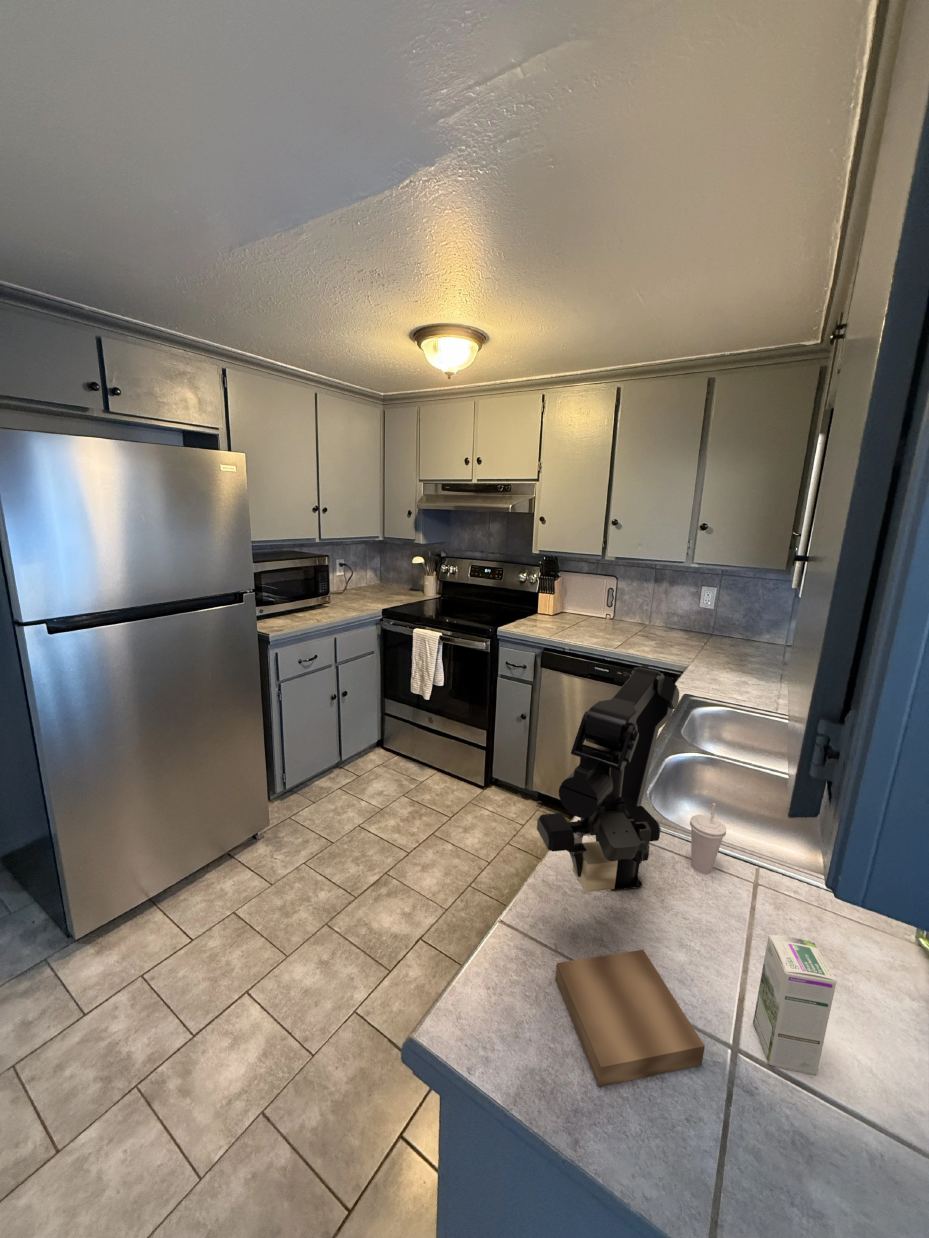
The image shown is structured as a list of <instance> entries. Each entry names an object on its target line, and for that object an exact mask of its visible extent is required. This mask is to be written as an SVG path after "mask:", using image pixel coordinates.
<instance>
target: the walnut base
mask: <svg viewBox="0 0 929 1238" xmlns="http://www.w3.org/2000/svg"><path fill="white" fill-rule="evenodd" d="M554 980H555V983H556V985H557V988H558V991H559V993H560V995H561V998H562V1000H563V1003H564V1005H565V1007H566V1010H567V1012H568V1015H569V1017H570V1020H571V1022H572V1024H573V1027H574V1029H575V1032H576V1034H577V1037H578V1039H579V1042H580V1044H581V1047H582V1049H583V1051H584V1054H585V1056H586V1058H587V1062H588V1064H589V1067H590V1069H591V1071H592V1074H593V1077H594V1079H595V1081H596V1084H597V1087H599V1088H600V1087H604V1086H605V1087H606V1086H609V1085H610V1086H611V1085H615V1084H619V1083H623V1082H629V1081H633V1080H637V1079H642V1078H646V1077H647V1078H648V1077H652V1076H657V1075H661V1074H667V1073H670V1072H671V1073H672V1072H676V1071H680V1070H681V1071H682V1070H685V1069H689V1068H694V1067H699V1066H702V1064H703V1058H704V1054H705V1047H706V1046H705V1043H704V1042H703V1041H702V1040H701V1038H700V1036H699V1034H698V1033H697V1031H696V1030H695V1029H694V1027H693V1025H692V1024H691V1022H690V1020H689V1018H688V1017H687V1015H686V1014H685V1012H684V1011H683V1010H682V1008H681V1006H680V1004H679V1003H678V1002H677V999H676V998H675V997H674V995H673V993H672V992H671V991H670V989H669V987H668V986H667V984H666V983H665V981H664V979H663V977H661V975H660V974H659V972H658V970H657V968H656V967H655V965H654V963H653V962H652V960H651V959H650V958H649V956H648V955H647V952H645V950H644V949H638V950H636V949H635V950H632V951H631V950H630V951H624V952H618V953H617V952H616V953H612V954H605V955H604V954H603V955H600V956H598V955H597V956H592V957H586V958H581V959H580V958H579V959H572V960H567V961H561V962H560V961H559V962H556V966H555V976H554Z"/></svg>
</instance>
